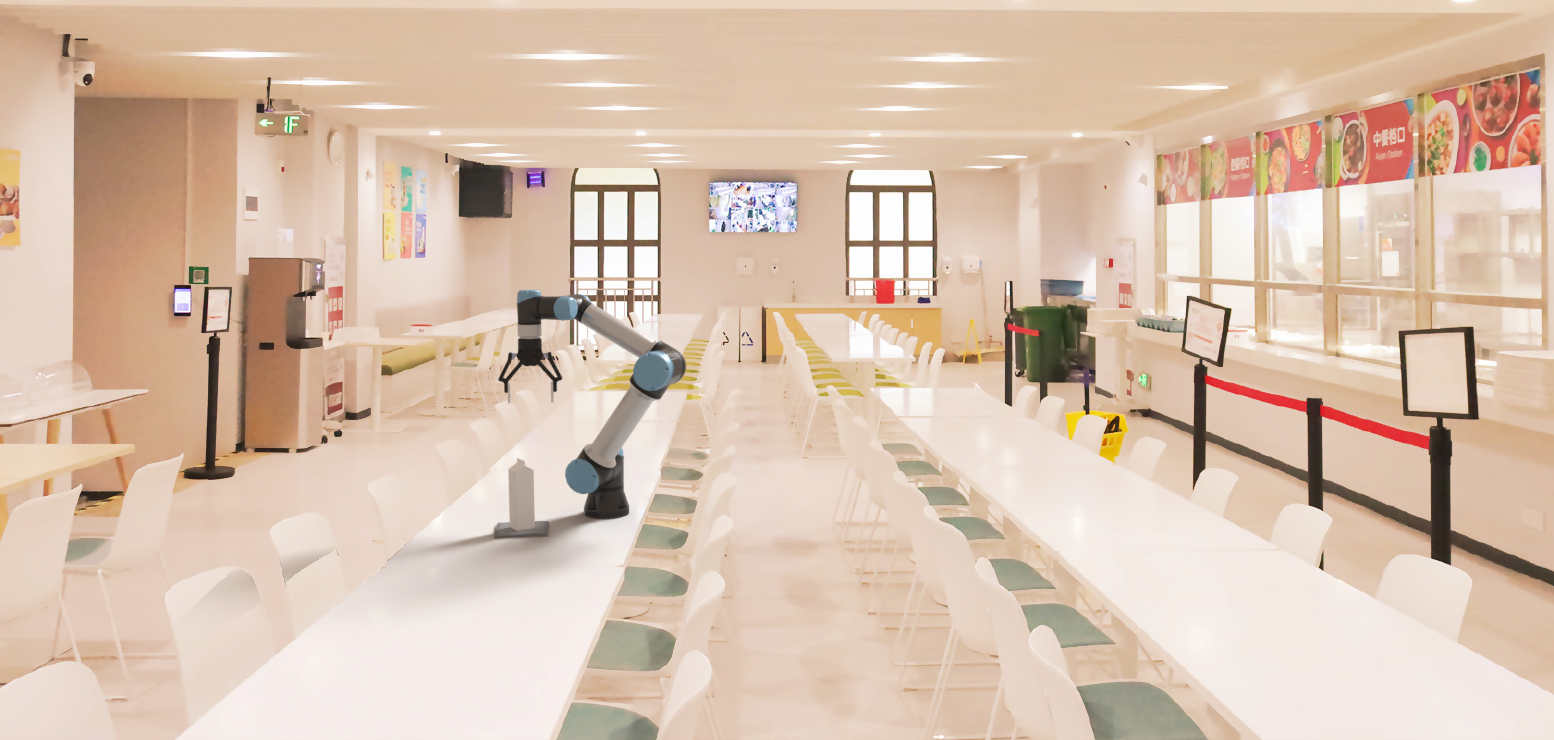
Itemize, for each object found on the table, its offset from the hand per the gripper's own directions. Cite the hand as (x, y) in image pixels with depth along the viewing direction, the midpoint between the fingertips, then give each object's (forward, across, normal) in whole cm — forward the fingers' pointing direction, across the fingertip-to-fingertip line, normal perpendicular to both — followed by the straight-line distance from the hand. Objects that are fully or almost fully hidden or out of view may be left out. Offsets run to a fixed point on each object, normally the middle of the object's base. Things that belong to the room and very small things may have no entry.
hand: (531, 402), depth 353 cm
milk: (+38, +3, +15) cm, 41 cm away
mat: (+39, +3, +15) cm, 42 cm away
